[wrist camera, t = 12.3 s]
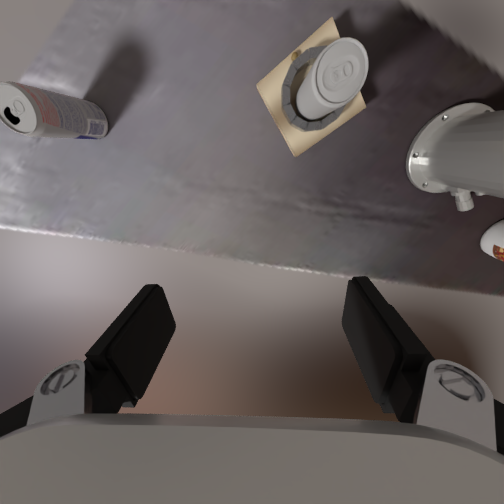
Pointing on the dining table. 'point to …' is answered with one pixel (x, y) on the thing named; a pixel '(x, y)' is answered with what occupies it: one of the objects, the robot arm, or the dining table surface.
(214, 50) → the dining table surface
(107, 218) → the dining table surface
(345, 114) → the mount block
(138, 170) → the dining table surface
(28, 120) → the energy drink
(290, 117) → the mount ring
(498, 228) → the milk bottle
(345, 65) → the beverage can
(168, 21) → the dining table surface
